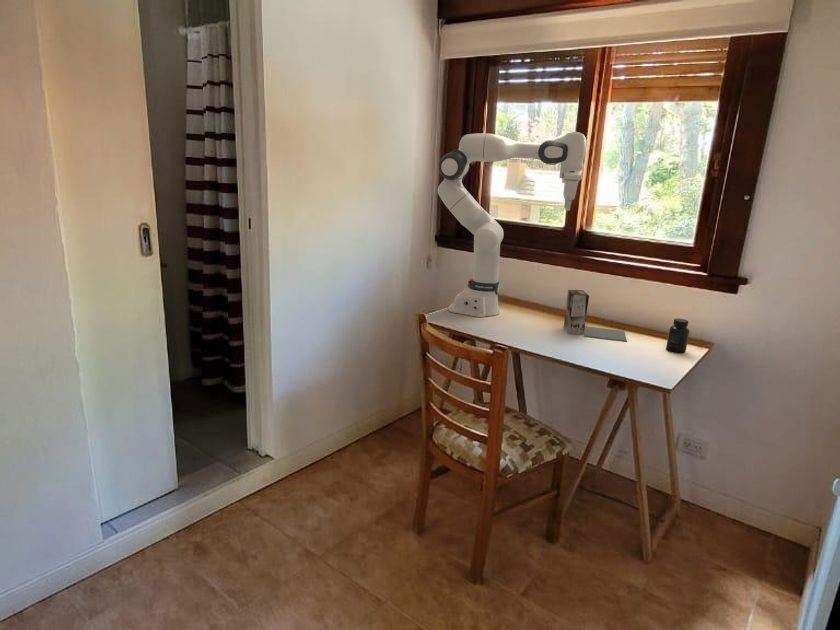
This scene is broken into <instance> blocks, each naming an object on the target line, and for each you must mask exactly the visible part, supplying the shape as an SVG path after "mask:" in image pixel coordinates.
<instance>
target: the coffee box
mask: <svg viewBox="0 0 840 630" xmlns="http://www.w3.org/2000/svg"><path fill="white" fill-rule="evenodd" d="M589 299H590V295H589V294H588V292H586V291H584V290H582V289H568V290H567V296H566V306H565V315H564V320H563V321H564V322H563V328H564V329H565V331H566V332H567V333H568V334H569V335H571V334H572V335H573V334H574V335H584V329H585V326H586V320H587V313H588V306H589Z"/></svg>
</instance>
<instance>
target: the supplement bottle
mask: <svg viewBox="0 0 840 630" xmlns="http://www.w3.org/2000/svg"><path fill="white" fill-rule="evenodd" d="M672 324H673V325H671V326H670V327H669V328H668V335H667V339H666V345H665V349H666V350H667V351H668V352H670V353H673V354H681V355H682V354H685V353H686V351H687V348H688V347H687V346H688V343H689V342H688V341H689V336H690V329H689V328H688V327H689V320H687V319H683V318H674V319H673V323H672Z"/></svg>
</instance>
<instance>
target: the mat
mask: <svg viewBox="0 0 840 630" xmlns="http://www.w3.org/2000/svg"><path fill="white" fill-rule="evenodd" d="M583 338H592V339H598V340H599V339H601V340H608V341H609V340H610V341H615V342H617V341H618V342H625V343H626V342H627V343H628V339H627V336H626V332H625V330H620V329H612V328H605V327H596V326H594V327H593V326H588V325H585V329H584V334H583Z"/></svg>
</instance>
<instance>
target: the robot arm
mask: <svg viewBox="0 0 840 630" xmlns="http://www.w3.org/2000/svg"><path fill="white" fill-rule="evenodd" d="M586 149H587V138H586V136H585V134H583V133H582V132H578V131H573V130H568V131H566V132H565V133H563V134H560V135H558V136H557V137H556V136H555V137H554V138H550V139H546V140H544V141H543V142H539V143H537V142H522V141H517V140H514V139H510V138H509V137H507V136H503V135H499V134H494V133H488V132H487V133H483V132H480V133H470V134H469V133H468V134H464V135H463V136H462V137H461V139H460V141H459V143H458V148H457V149H453V150H452V151H450V152H448V153H446V154H445V155H443V156H442V157H441V158H440V160H439V161H438V171H439V174H440V175H441V177H442V178H443V179H442V181H441V183H439V185H438V187H437V194H438V196H439V198H440V200H441V201H442V202H443V204H444V206H445V207H446V208H447V209H448V210H449V212H451V214H452V215H453V216H454V217H455V219H456V220H457V221H458V222H459V223H460V224H461V226H463V227H464V228H465V229H467V230H468V231H469V232H470V233H471V234H472V235H473V275H472V277H470V278H469V279H468V282H467V287H466V288H464V290H461V291H460V292H459V293H457V294H456V295H455V298H454V301H453V302H452V303H451V304H449V305H448V311H449V312H451V313H455V314H459V315H466V316H471V317H477V318H485V317H491V316H497V315H499V314H500V308H499V299H498V297H499V296H498V295H499V292H500V281H499V277H500V265H501V263H500V262H501V261H500V260H501V259H500V258H501V256H500V255H501V254H500V253H501V243H502V241H503V239H504V229H503V227H502V226H501V225H500V223H498V221H497V220H496V219H495V218H493V216H492V215H491V214H489V213H488V211H486V210H485V209H484V208H483V207H482V206H481V205H480V204H479V203H478V201H477V200H476V198H474V197H473V195H472V194H471V193H470V192H469V191H468V190H467V189H466V188H465V186H464V184H463V181H464V180H465V178H466V176H467V175H468V173H469V171H470V168H471V163H472V162H484V163H485V162H486V163H494V162H503V161H506V160H511V159H532V160H533V159H534V160H539V161H541V162H542V163H544V164H546V165H552V166H554V165H557V164H560V170H559V179H562V180H561V181H562V184H564V185H563V193H562V195H563V197H564V206H563V207H564V210H565V211H566V212H569V211H571V205H572V202H573V201H575V198H576V194H577V190H578V185H579V182H580V181H581V180H583V174H584V168H585V165H584V159H585V157H586V154H587V153H586V152H587V150H586Z"/></svg>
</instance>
